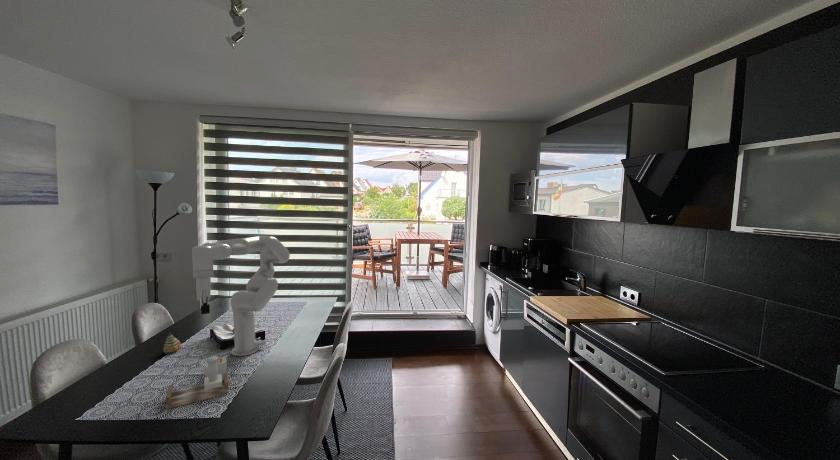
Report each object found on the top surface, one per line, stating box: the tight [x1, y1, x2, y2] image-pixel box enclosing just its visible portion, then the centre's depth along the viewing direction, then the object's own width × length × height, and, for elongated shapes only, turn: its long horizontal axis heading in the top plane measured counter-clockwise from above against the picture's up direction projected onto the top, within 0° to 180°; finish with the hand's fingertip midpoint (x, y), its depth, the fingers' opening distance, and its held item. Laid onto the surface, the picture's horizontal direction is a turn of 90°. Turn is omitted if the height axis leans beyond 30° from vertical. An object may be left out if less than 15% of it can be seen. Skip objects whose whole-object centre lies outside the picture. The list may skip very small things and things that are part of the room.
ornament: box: [163, 332, 182, 355], centre depth 169 cm, size 8×6×10 cm
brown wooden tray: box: [165, 372, 229, 410], centre depth 131 cm, size 20×9×4 cm, turn 122°
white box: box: [204, 355, 228, 379], centre depth 142 cm, size 8×7×8 cm
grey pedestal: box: [203, 355, 222, 390], centre depth 133 cm, size 6×7×11 cm
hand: (205, 313), depth 147 cm, fingers closed
